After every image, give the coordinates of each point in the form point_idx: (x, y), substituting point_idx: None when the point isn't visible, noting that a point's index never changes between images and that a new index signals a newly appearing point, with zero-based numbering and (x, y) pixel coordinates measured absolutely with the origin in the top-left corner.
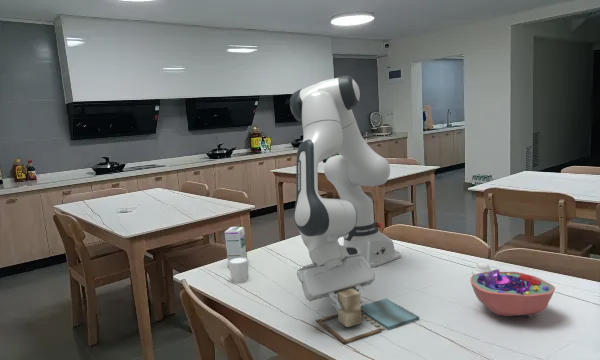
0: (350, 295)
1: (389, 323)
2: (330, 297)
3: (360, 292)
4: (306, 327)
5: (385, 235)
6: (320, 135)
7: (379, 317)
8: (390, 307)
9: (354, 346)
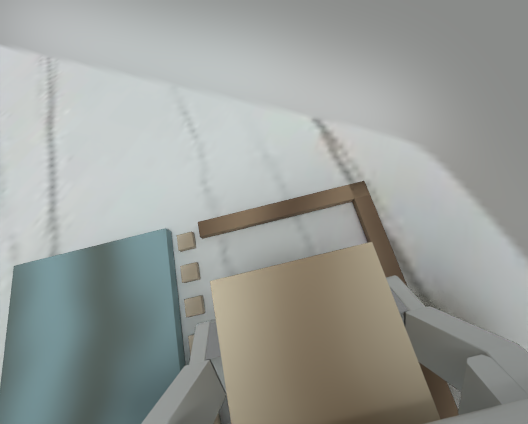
0: (310, 267)
1: (145, 252)
2: (513, 344)
3: (172, 390)
4: None
5: None
6: None
7: (151, 322)
8: (45, 413)
9: (328, 164)
